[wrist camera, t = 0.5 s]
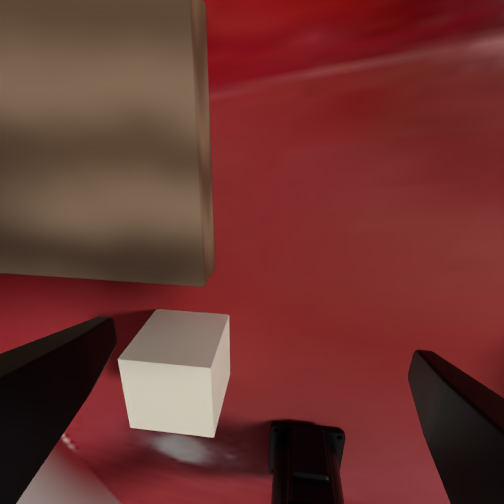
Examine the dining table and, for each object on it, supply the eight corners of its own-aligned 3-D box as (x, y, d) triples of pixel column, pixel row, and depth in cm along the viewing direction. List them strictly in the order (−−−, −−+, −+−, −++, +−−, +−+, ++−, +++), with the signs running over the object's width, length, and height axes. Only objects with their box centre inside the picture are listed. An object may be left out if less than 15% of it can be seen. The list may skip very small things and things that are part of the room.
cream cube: (230, 373, 26) (213, 437, 21) (163, 366, 27) (130, 427, 21) (229, 314, 24) (210, 368, 18) (156, 308, 25) (117, 359, 19)
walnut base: (214, 268, 22) (204, 286, 20) (19, 256, 24) (-16, 271, 21) (205, 3, 17) (188, -23, 14) (-52, 12, 18) (-113, -10, 16)
